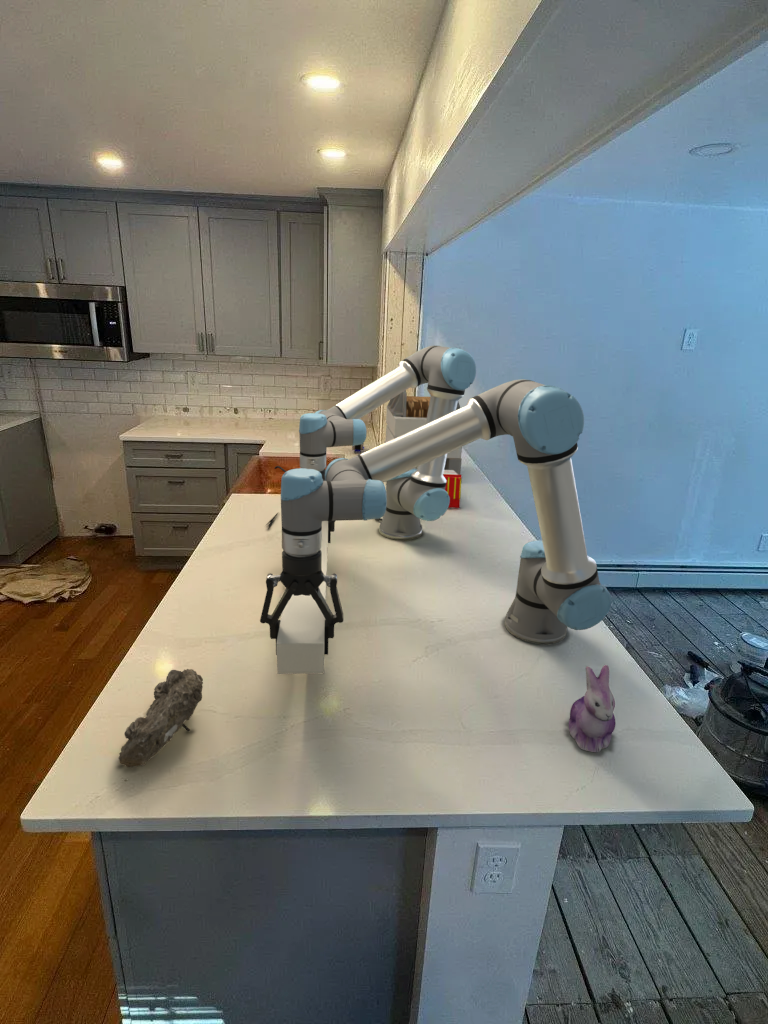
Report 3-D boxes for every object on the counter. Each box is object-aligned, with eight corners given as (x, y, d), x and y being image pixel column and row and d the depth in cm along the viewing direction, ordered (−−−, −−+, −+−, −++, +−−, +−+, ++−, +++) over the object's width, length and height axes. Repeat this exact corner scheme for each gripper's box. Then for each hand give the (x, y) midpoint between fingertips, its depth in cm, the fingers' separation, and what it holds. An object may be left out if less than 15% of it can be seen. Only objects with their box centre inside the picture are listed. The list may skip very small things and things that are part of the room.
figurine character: (364, 456, 305) (364, 447, 319) (364, 443, 302) (364, 434, 315) (351, 456, 305) (352, 446, 318) (351, 443, 302) (352, 434, 315)
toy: (454, 466, 253) (465, 475, 223) (452, 495, 255) (463, 509, 226) (427, 465, 252) (435, 474, 223) (425, 494, 255) (433, 508, 226)
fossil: (153, 670, 114) (204, 637, 109) (187, 701, 117) (238, 670, 112) (92, 760, 94) (152, 726, 89) (135, 795, 97) (195, 763, 92)
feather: (285, 507, 224) (287, 503, 224) (267, 531, 198) (270, 526, 197) (281, 504, 224) (284, 500, 223) (263, 528, 197) (265, 524, 197)
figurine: (594, 762, 101) (608, 692, 96) (553, 726, 109) (565, 660, 104) (630, 746, 105) (646, 678, 100) (588, 712, 114) (601, 648, 109)
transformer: (382, 463, 289) (386, 382, 275) (445, 464, 293) (451, 384, 279) (390, 482, 257) (394, 392, 243) (460, 483, 261) (468, 394, 247)
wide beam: (299, 534, 176) (299, 513, 173) (328, 534, 176) (328, 514, 174) (277, 674, 109) (276, 643, 107) (323, 673, 110) (324, 643, 107)
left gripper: (273, 471, 157) (275, 545, 165) (351, 472, 159) (349, 546, 167) (275, 464, 164) (277, 536, 172) (350, 465, 166) (349, 536, 174)
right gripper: (240, 557, 104) (245, 662, 111) (359, 558, 106) (356, 661, 113) (246, 541, 111) (250, 641, 118) (357, 542, 113) (354, 640, 120)
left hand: (313, 541), depth 170 cm, fingers closed on wide beam, 9 cm apart
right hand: (302, 651), depth 116 cm, fingers closed on wide beam, 9 cm apart
